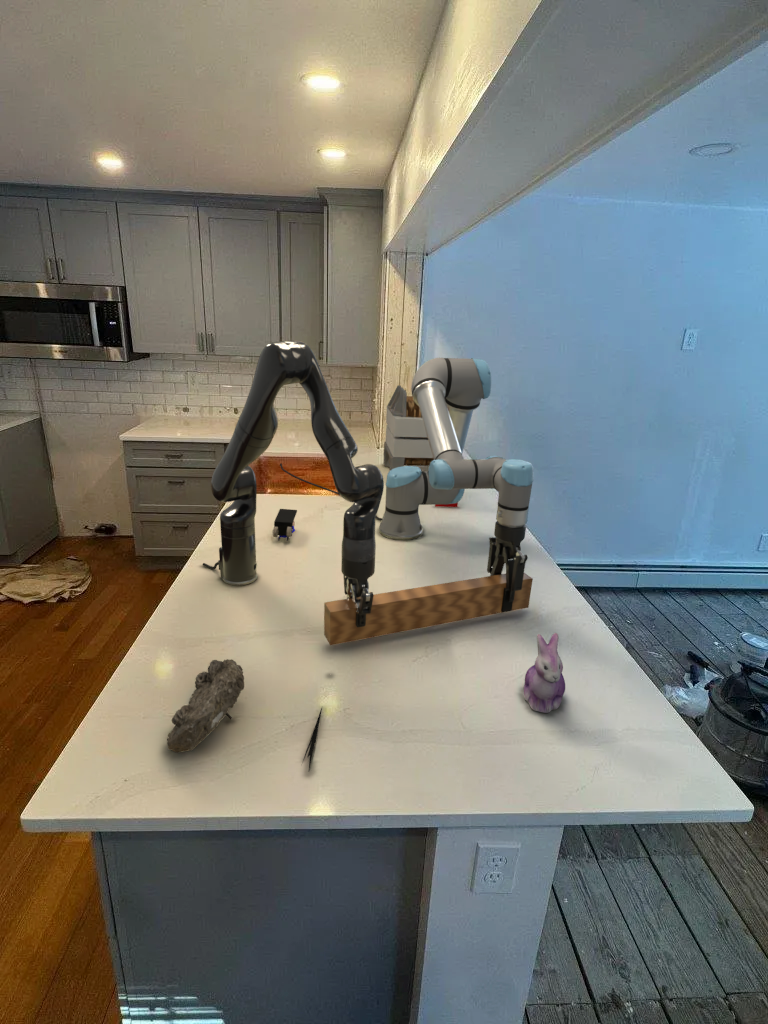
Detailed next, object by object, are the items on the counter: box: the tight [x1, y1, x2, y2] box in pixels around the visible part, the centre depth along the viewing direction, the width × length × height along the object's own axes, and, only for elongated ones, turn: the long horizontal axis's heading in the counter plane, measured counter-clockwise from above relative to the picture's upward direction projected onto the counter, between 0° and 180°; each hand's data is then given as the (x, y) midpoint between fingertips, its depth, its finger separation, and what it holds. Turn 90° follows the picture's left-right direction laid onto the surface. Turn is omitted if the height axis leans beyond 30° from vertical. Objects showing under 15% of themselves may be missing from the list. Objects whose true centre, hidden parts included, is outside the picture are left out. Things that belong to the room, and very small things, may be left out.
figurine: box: [523, 632, 566, 714], centre depth 114 cm, size 9×10×15 cm
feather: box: [301, 673, 332, 771], centre depth 108 cm, size 2×28×2 cm
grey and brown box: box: [383, 384, 434, 471], centre depth 268 cm, size 34×33×41 cm
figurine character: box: [272, 508, 298, 542], centre depth 192 cm, size 7×8×15 cm
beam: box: [323, 572, 534, 646], centre depth 139 cm, size 54×5×9 cm, turn 113°
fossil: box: [166, 658, 245, 754], centre depth 106 cm, size 22×10×15 cm
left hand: (356, 620), depth 132 cm, fingers closed on beam, 4 cm apart
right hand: (500, 605), depth 148 cm, fingers closed on beam, 5 cm apart
